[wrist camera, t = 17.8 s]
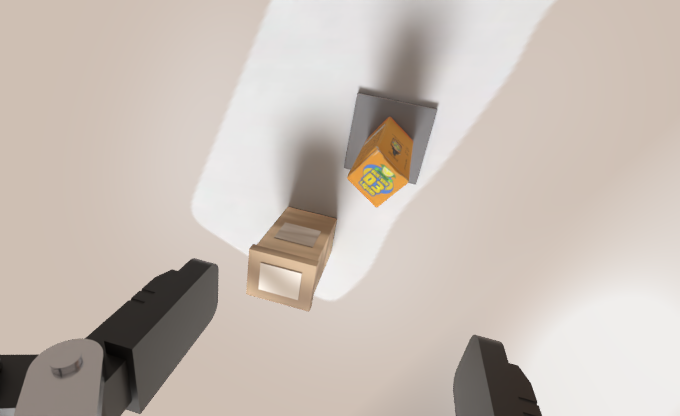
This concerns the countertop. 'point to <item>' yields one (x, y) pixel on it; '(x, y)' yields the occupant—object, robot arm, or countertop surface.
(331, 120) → the countertop surface
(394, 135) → the supplement box
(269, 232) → the box
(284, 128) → the countertop surface
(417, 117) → the coaster
